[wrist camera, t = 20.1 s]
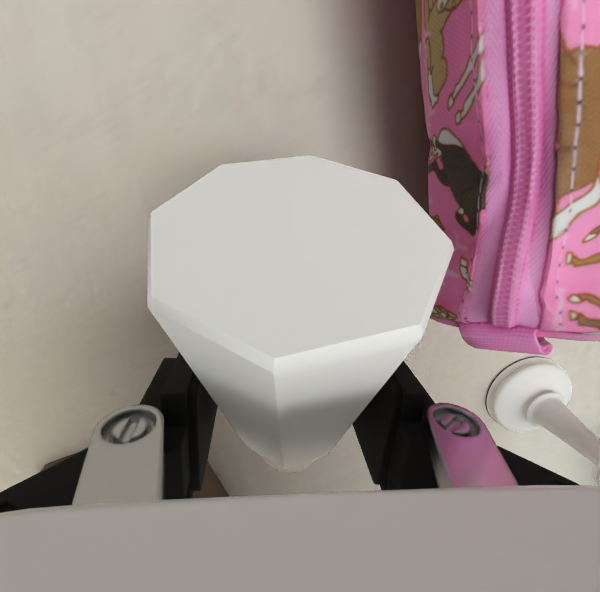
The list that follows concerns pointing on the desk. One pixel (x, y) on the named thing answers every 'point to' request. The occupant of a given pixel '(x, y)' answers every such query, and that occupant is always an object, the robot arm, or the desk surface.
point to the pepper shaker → (293, 294)
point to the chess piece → (541, 405)
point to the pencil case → (515, 166)
